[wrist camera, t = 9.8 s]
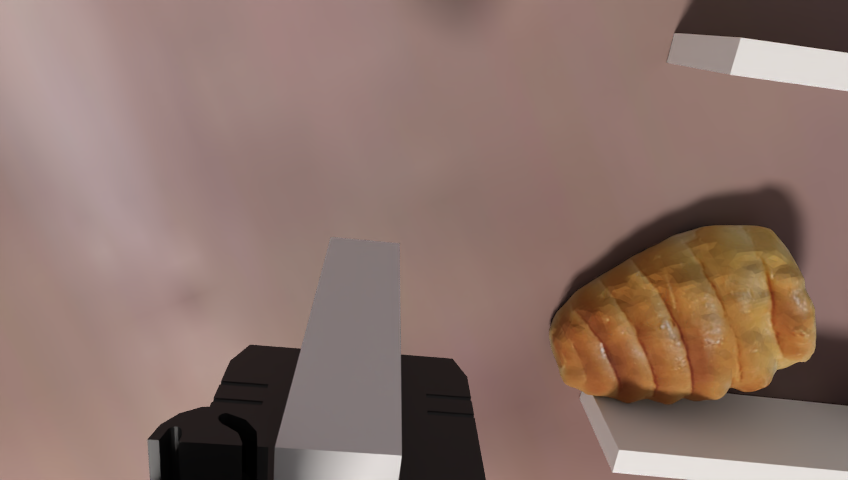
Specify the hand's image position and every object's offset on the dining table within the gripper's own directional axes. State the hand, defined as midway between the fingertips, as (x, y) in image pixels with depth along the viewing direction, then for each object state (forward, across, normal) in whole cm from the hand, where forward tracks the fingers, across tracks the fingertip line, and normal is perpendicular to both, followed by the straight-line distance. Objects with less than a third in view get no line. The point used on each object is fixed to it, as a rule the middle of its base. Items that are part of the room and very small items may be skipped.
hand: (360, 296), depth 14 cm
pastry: (+10, +13, -4) cm, 17 cm away
